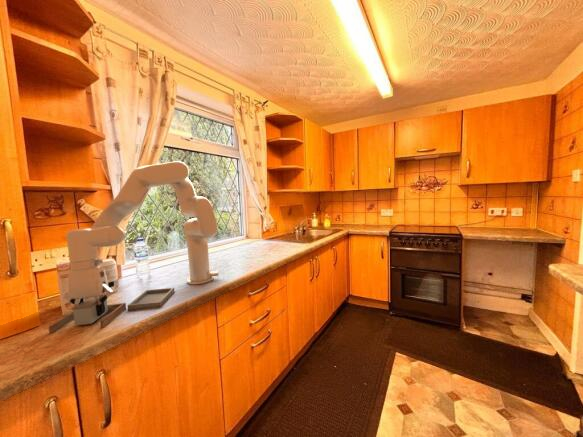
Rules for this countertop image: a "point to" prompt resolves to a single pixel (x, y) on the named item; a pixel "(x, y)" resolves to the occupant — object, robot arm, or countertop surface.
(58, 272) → the coffeecake box
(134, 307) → the tray
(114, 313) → the frame
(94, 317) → the grey rectangular box
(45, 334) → the countertop surface
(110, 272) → the supplement can
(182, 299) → the countertop surface
